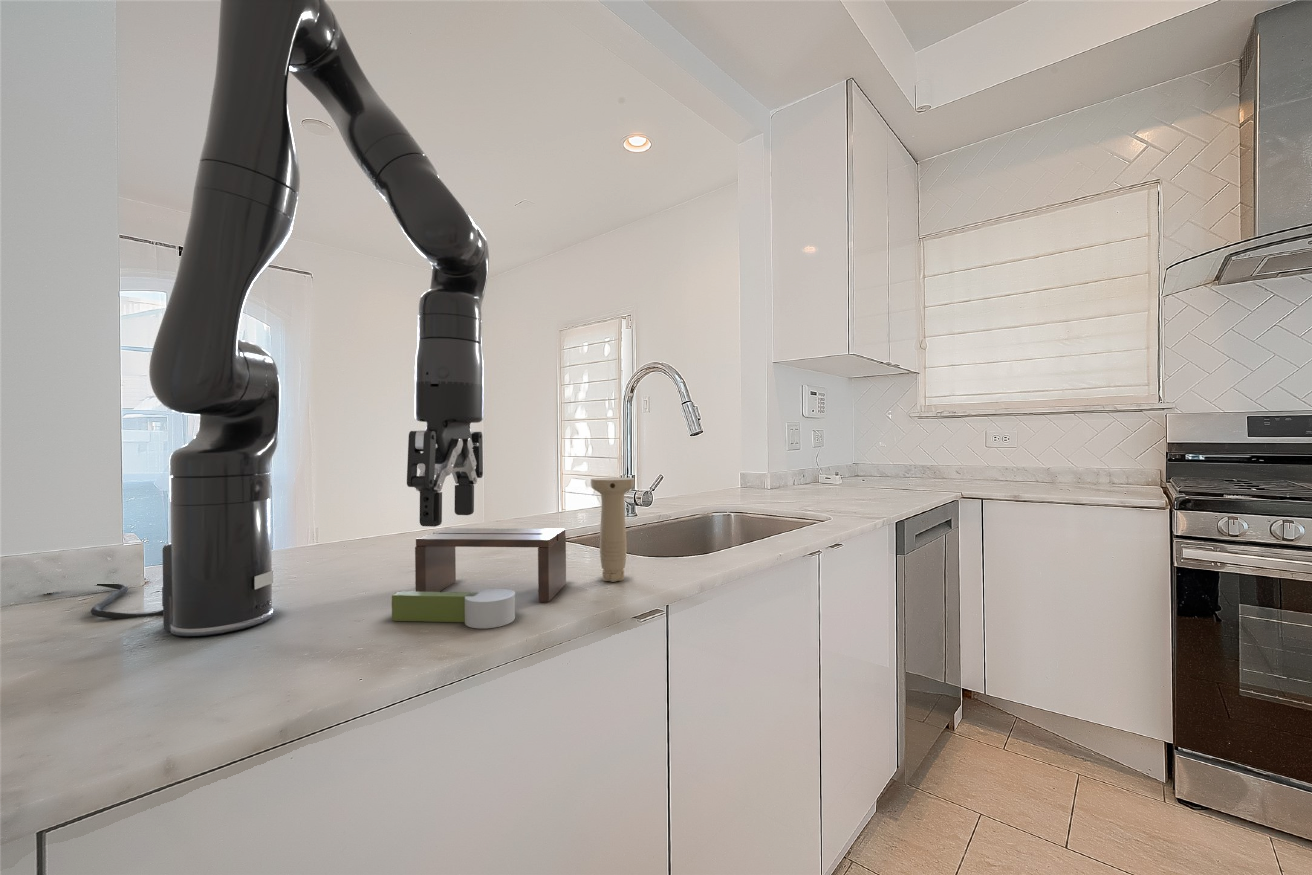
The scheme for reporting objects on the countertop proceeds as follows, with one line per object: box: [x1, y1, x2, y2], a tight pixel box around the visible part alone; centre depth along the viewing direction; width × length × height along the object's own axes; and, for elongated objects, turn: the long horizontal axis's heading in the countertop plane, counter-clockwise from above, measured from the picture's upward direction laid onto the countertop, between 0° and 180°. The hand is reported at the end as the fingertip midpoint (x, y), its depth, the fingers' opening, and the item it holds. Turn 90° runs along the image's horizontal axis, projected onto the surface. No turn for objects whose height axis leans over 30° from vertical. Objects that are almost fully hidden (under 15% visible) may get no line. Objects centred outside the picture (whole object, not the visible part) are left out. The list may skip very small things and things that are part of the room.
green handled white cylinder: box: [391, 587, 516, 630], centre depth 66 cm, size 14×6×3 cm, turn 85°
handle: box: [590, 477, 635, 583], centre depth 83 cm, size 5×6×15 cm
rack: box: [414, 527, 567, 603], centre depth 77 cm, size 18×9×8 cm, turn 85°
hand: (448, 519), depth 66 cm, fingers open, 8 cm apart
